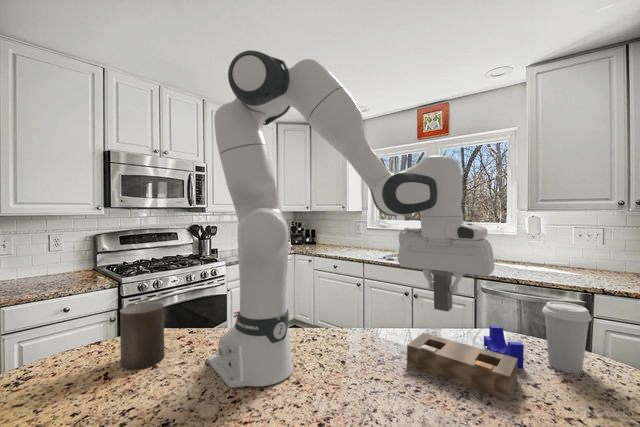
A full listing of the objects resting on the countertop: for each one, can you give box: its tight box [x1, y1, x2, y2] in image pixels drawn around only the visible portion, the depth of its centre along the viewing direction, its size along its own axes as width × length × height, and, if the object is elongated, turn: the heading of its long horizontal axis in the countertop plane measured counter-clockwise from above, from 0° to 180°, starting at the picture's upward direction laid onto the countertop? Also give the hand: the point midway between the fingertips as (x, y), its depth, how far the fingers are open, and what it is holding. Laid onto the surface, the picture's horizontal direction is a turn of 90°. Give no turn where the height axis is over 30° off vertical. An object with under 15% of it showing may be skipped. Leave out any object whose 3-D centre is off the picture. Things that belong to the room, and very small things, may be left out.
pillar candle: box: [119, 301, 165, 371], centre depth 78 cm, size 10×10×15 cm
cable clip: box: [483, 325, 525, 369], centre depth 82 cm, size 12×4×6 cm, turn 173°
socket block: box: [406, 332, 519, 402], centre depth 73 cm, size 22×10×5 cm, turn 50°
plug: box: [431, 270, 453, 312], centre depth 69 cm, size 3×3×9 cm
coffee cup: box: [542, 301, 593, 374], centre depth 76 cm, size 10×10×15 cm
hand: (443, 290), depth 69 cm, fingers closed on plug, 3 cm apart
